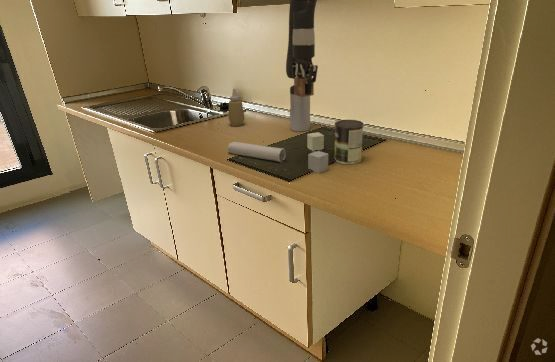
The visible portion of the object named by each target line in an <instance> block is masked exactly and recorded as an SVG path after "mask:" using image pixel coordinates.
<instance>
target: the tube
mask: <svg viewBox="0 0 555 362" xmlns="http://www.w3.org/2000/svg"><path fill="white" fill-rule="evenodd" d="M227 151H228V152H229V153H230V155H231V154H232V155H237V156H242V157H248V158H255V159H261V160H266V161H267V160H268V161H271V162H278V163H282V162H283V161H282V160H284V161H285V158H286V157H287V156H286V155H287V154H286V150H285V148H284V147H282V148H281V147H273V146H268V145H267V146H266V145H265V146H264V145H260V144H253V143H247V142H239V141H232V142H229V143H228V145H227ZM281 161H282V162H281Z"/></svg>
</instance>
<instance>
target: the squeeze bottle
mask: <svg viewBox="0 0 555 362" xmlns="http://www.w3.org/2000/svg"><path fill="white" fill-rule="evenodd" d="M236 90H237V89H236V88H233V89H232V95H231V96H230V98H229V99H230V100H229V101H228V121H229V123H230V125H231V127H242V126H243V125H244V122H245V113H244V106H243V101H242V100H241V99H240V98H241V97H240V96H239V95H238V93H237V91H236Z"/></svg>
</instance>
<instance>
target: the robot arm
mask: <svg viewBox="0 0 555 362" xmlns="http://www.w3.org/2000/svg"><path fill="white" fill-rule="evenodd" d="M317 1H318V0H289V10H288V11H289V12H288V43H287V52H286V53H287V54H286V61H285V71H286V73H285V74H286V76H287V77H288V79H293V80H294V78H296V77H303V78H304V79H305V94H306V95H310V94H311V92H312V83H313V82H314V83H316V82H317V76H318V68H319V66H318V64H316V65H315V64H313V61H312V60H313V58H315V55H316V54H315V53H316V52H315V47H316V46H315V44H316V43H315V41H316V40H315V39H316V37H315V36H316V35H315V13H316V12H315V11H316V7H317V5H316V4H317ZM307 77H308V79H307ZM312 78H313V79H312ZM289 96H290V97H289V100H290V101H289V104H290V107H289V128H290V130H291V131H294V132H307V131H309V130H311V96H305V97H300V96H297V95H294V84H293V85H291V86H290V87H289Z"/></svg>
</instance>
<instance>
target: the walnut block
mask: <svg viewBox="0 0 555 362" xmlns="http://www.w3.org/2000/svg"><path fill="white" fill-rule="evenodd" d="M307 79H308V77H307ZM312 79H313V77H312ZM293 85H294V95H297V96H300V97H305V96H310V97H311V96H314V94H315V93H314V89H315V88H314V87H315V86H314V85H315V82H313V83H312V92H311V94H310V95H306V94H305V79H304V78H303V77H296V78H294V79H293Z"/></svg>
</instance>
